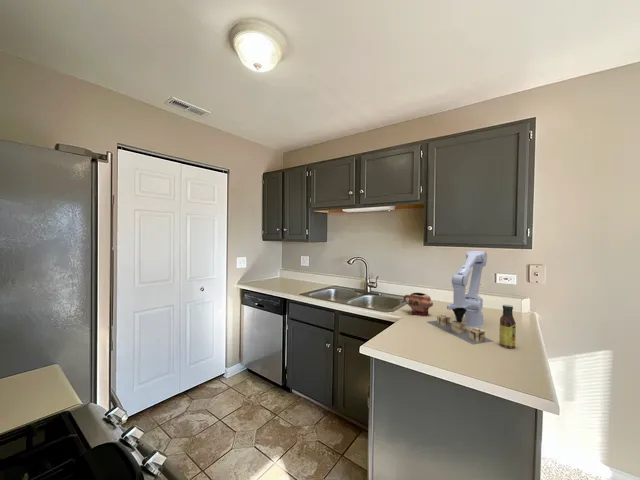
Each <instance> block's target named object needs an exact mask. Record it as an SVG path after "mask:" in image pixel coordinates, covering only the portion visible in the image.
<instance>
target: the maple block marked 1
mask: <svg viewBox="0 0 640 480" xmlns="http://www.w3.org/2000/svg"><path fill="white" fill-rule="evenodd" d="M436 321H437V324H439V325H441V326H450V323H451V316H449V315H447V314H445V313H444V314H443V313H442V314H437V315H436Z"/></svg>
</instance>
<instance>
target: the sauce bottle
mask: <svg viewBox="0 0 640 480" xmlns="http://www.w3.org/2000/svg"><path fill="white" fill-rule="evenodd" d="M513 310H514V306H513V305H510V304H502V315H501V316H500V318H499V336H498V337H499V342H498V343H499V346H500V347H502V348H504V349H508V350H514V349H515V348H516V339H517V338H516V337H517V335H516V333H517V332H516V329H517V328H516V327H517V325H516V320H515V318H514V316H513V314H514V313H513V312H514V311H513Z"/></svg>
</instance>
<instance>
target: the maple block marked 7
mask: <svg viewBox="0 0 640 480" xmlns="http://www.w3.org/2000/svg"><path fill="white" fill-rule="evenodd" d="M468 330H469V339H471V340H473V341H476V342H482V341H485V338H486V330H484V329H481V328H480V327H474V328H471V327H469V328H468Z"/></svg>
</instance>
